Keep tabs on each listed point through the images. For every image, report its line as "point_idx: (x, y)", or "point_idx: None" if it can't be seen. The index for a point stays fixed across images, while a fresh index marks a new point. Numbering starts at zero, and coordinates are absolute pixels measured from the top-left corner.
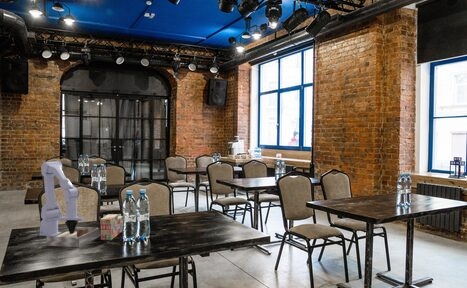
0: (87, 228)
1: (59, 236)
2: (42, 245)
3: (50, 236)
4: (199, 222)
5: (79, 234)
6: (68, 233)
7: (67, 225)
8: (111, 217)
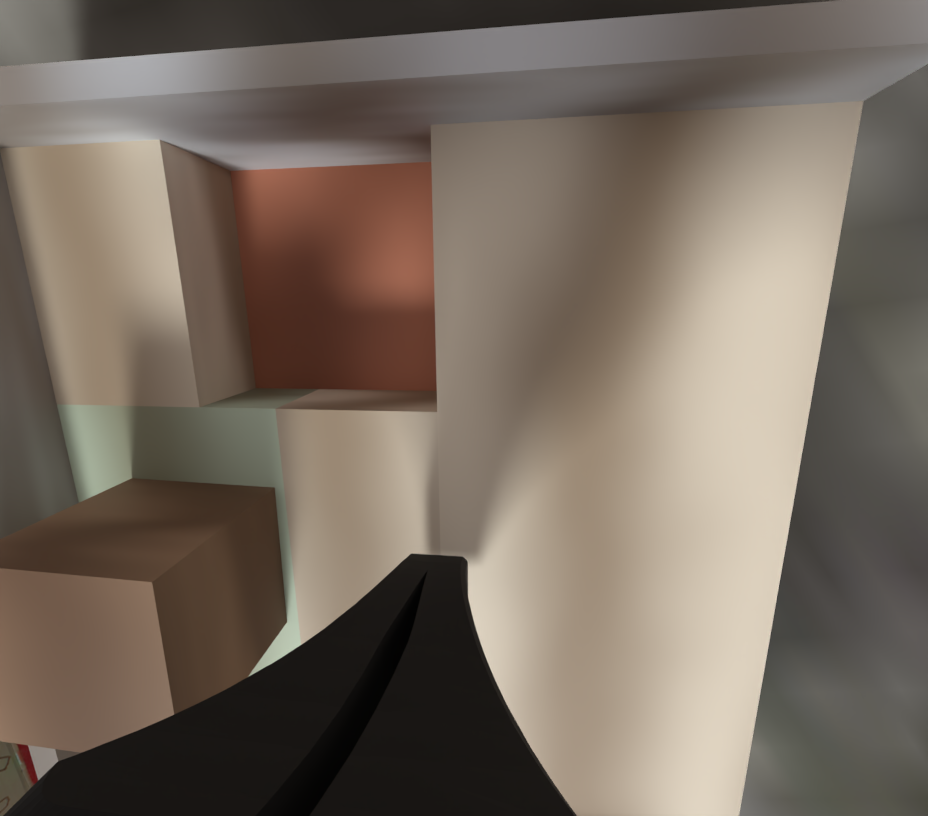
0: (11, 730)
1: (686, 454)
2: (892, 114)
3: (807, 8)
4: None
5: (181, 506)
6: (612, 693)
7: (469, 722)
8: None
